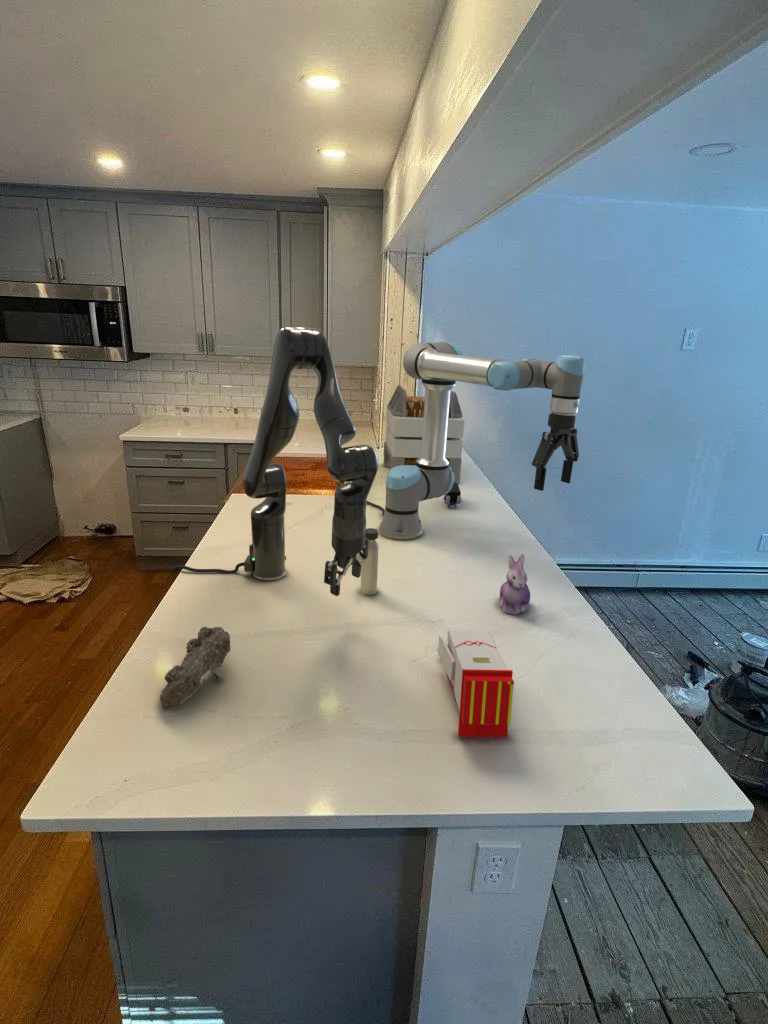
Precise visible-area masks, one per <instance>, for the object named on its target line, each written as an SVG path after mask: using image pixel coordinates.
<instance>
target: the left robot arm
mask: <svg viewBox="0 0 768 1024" xmlns="http://www.w3.org/2000/svg"><path fill="white" fill-rule="evenodd" d="M270 365H271V366H270V372H269V379H268V384H267V389H266V393H265V397H264V402H263V405H262V408H261V411H260V417H259V420H258V426H257V429H256V435H255V439H254V442H253V445H252V449H251V452H250V454H249V457H248V460H247V463H246V465H245V469H244V472H243V478H242V486H243V491H244V493H245V495H246V496H247V497H248V498H250V499H256V500H257V499H264V500H263V501H262V502H260V503H259V504H257V505H256V506H254V507H253V508H252V509H251V511H250V525H251V526H250V528H251V529H250V530H251V544H249V545H248V551H249V552H248V555H246V558H245V560H244V561H243V562H239V563H237V564H236V565H235V567H234V569H232V570H228V569H222V568H194V567H191V566H187V565H176V566H175V567H174V568H173V569H172V570H171V572H177V571H178V570H186V571H189V572H192V573H221V574H228V575H229V574H231V575H233V574H236V573H237V572H239V568H241V567H243V572H245V573H246V572H247V573H249V575H250V577H253V578H255V579H257V580H259V581H262V582H263V581H264V582H270V581H277V580H280V579H282V578H284V577H285V576H286V574H287V573H286V572H287V571H286V570H287V569H286V561H287V555H286V542H285V541H286V540H285V539H286V538H285V535H286V533H285V513H286V510H287V475H286V471H285V468H284V467H283V465H282V464H281V463H279V462H272V461H273V460H274V459H275V458H276V457H277V456H278V455H279V454H280V453H281V452H283V450H284V449H285V448H286V447H287V446H288V445H289V444H290V442H291V441H292V440H293V438H294V437H295V433H296V430H297V426H298V424H299V419H300V410H299V409H300V408H299V405H298V403H297V400H296V399H295V396H294V394H293V393H292V390H291V387H290V378H291V374H292V372H293V371H294V370H313V371H314V373H315V375H316V377H317V380H318V383H317V389H316V392H315V396H314V400H313V413H314V417H315V421H316V423H317V426H318V428H319V430H320V432H321V435H322V437H323V441H324V446H325V453H326V454H325V455H326V467H327V472H328V474H329V477H331V479H333V480H334V481H335V482H336V481H337V482H339V483H342V484H340V485H341V486H337V488H336V490H335V492H334V498H333V499H334V500H333V515H332V520H331V522H332V523H331V547H332V549H333V551H334V557H333V560H331V561H329V560H326V561H325V562H324V563H325V564H324V576H323V583H324V584H326V585H327V586H330V587H329V593H330V594H331V595H333V596H335V597H339V596H340V594H341V582H342V579H343V577H345V576H346V575H347V572H348V570H349V568H350V567H351V576H353V577H355V578H357V579H359V578H361V565H362V564H363V560H364V559H367V557H368V539H366V538H365V533H366V529H367V505H368V504H367V501H368V497H369V494H370V491H371V489H372V486H373V484H374V481H375V478H376V476H377V473H378V469H379V459H378V454H377V451H376V450H375V449H374V448H373V446H371V445H369V444H357V445H352V446H346V447H342V446H344V445H346V444H347V443H349V442H351V441H352V440H353V439H354V438H355V436H356V432H357V431H356V426H355V423H354V421H353V419H352V417H351V415H350V413H349V410H348V407H346V404H345V401H344V399H343V396H342V393H341V390H340V386H339V382H338V379H337V373H336V369H335V365H334V362H333V357H332V353H331V349H330V346H329V343H328V341H327V338H326V336H325V334H324V333H323V332H322V330H321V329H319V328H316V327H311V326H283V327H281V328H280V329H279V330H278V332H277V334H276V336H275V340H274V344H273V351H272V358H271V364H270ZM337 482H336V483H337ZM362 551H363V552H364V553H362ZM339 568H340V569H342V570H340V569H339ZM337 575H338V576H337Z"/></svg>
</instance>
